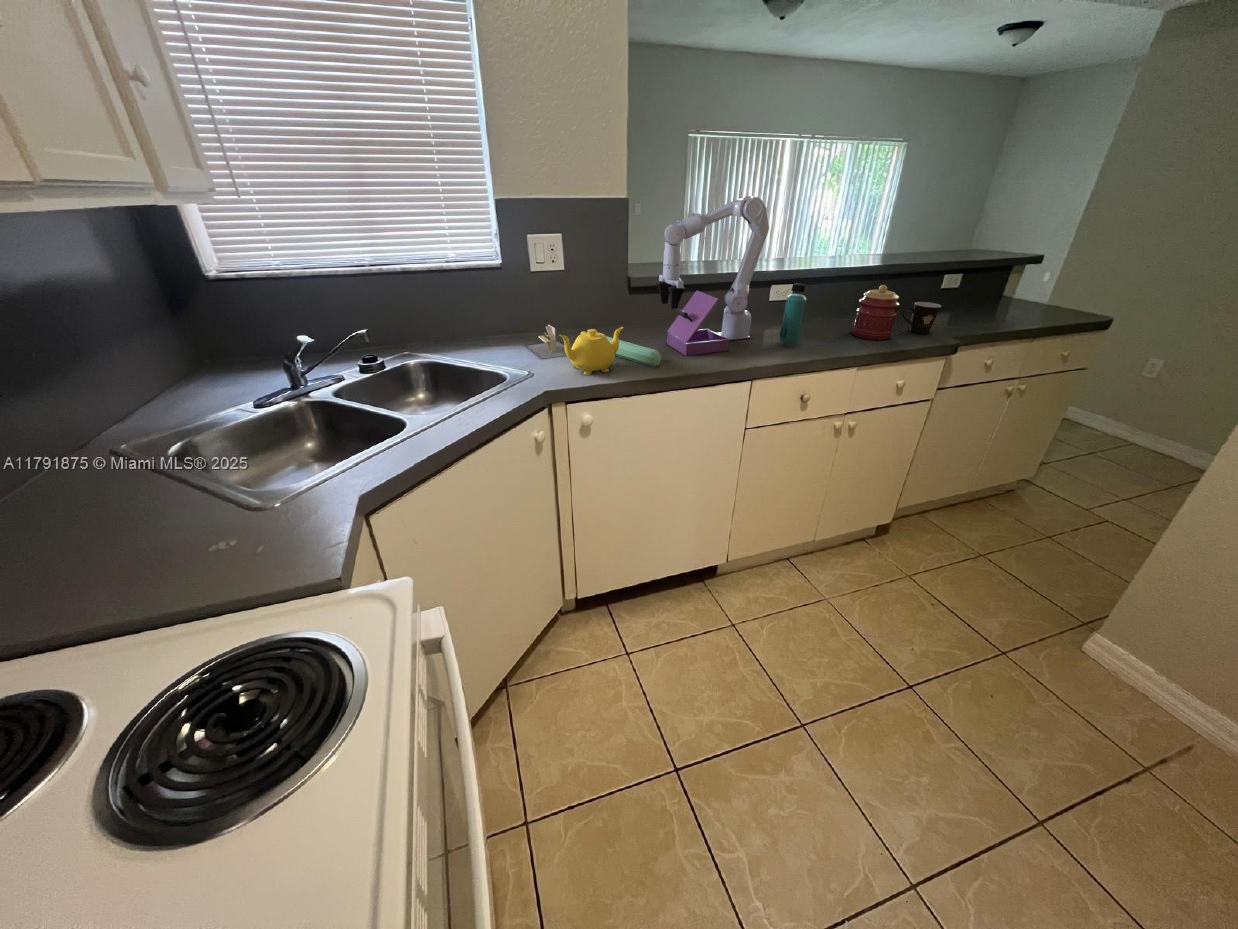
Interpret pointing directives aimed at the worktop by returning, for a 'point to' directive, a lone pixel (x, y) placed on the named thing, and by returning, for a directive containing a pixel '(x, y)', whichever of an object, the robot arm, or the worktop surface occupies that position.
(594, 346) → the teapot
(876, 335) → the kitchen canister
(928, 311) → the coffee mug
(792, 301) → the beverage bottle
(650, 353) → the container
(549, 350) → the architectural model
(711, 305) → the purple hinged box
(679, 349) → the purple box base
